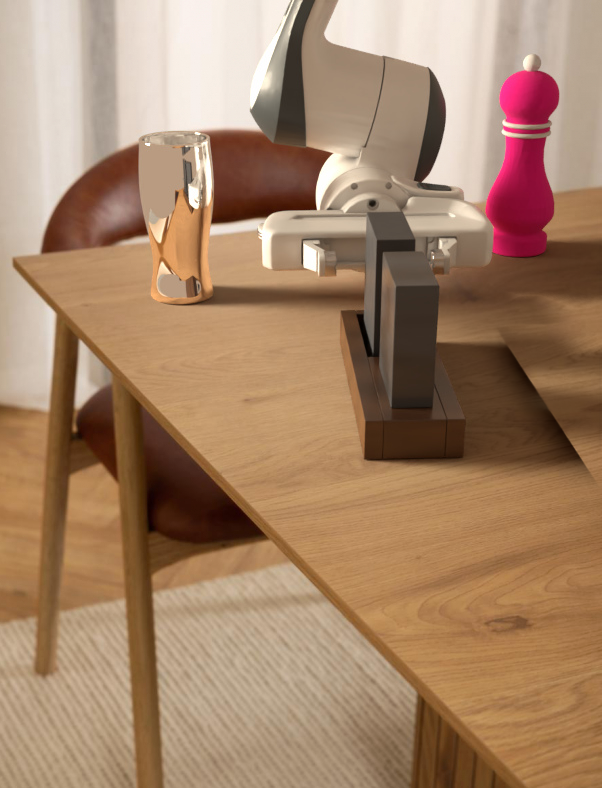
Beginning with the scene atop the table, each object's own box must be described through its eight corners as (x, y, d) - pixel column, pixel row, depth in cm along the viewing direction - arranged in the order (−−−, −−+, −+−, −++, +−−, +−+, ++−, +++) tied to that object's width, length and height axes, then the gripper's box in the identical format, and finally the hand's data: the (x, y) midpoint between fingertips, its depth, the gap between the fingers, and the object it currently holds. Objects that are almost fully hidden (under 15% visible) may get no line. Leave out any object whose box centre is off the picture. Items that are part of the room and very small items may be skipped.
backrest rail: (339, 342, 104) (341, 206, 98) (419, 341, 104) (426, 205, 98) (364, 459, 83) (368, 296, 78) (463, 457, 83) (474, 294, 78)
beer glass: (131, 295, 116) (120, 138, 109) (185, 278, 120) (177, 127, 113) (178, 311, 111) (170, 149, 104) (232, 293, 116) (227, 137, 109)
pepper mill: (479, 239, 131) (492, 49, 122) (544, 239, 131) (562, 48, 122) (486, 258, 125) (501, 59, 116) (555, 259, 125) (575, 59, 115)
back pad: (362, 350, 102) (366, 212, 96) (397, 349, 102) (403, 211, 96) (371, 386, 95) (376, 239, 89) (409, 385, 95) (415, 239, 89)
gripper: (256, 189, 108) (258, 231, 96) (478, 186, 109) (508, 227, 97) (257, 256, 111) (259, 305, 99) (473, 253, 112) (502, 301, 100)
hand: (384, 267), depth 98 cm, fingers open, 8 cm apart
